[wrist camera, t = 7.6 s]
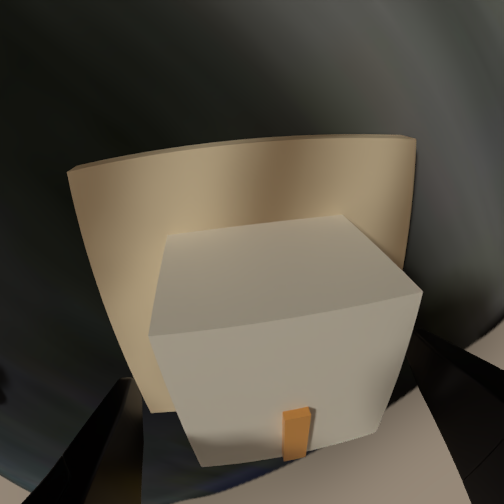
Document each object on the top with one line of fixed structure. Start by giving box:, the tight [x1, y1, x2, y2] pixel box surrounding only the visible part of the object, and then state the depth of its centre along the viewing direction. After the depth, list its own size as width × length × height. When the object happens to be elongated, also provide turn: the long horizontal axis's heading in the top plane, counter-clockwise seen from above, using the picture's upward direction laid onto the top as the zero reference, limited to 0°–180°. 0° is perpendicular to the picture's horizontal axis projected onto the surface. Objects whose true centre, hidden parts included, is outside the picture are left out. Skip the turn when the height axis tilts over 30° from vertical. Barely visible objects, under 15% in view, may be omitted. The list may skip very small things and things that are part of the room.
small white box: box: [148, 215, 423, 467], centre depth 10 cm, size 6×6×5 cm
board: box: [67, 134, 416, 413], centre depth 11 cm, size 12×12×4 cm
